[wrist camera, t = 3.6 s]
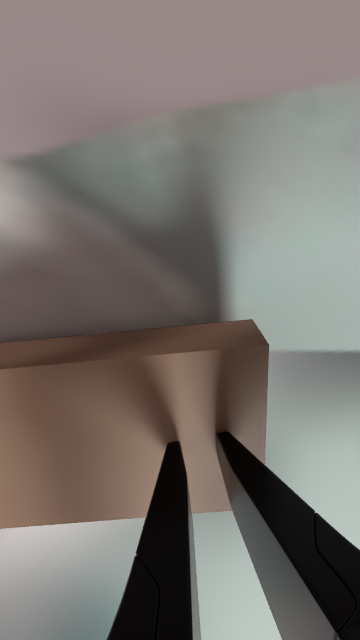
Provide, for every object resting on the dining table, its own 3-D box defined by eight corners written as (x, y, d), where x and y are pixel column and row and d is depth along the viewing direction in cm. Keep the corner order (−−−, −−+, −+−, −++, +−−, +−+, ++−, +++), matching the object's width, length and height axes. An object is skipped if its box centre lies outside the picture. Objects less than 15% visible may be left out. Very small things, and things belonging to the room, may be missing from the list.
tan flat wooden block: (252, 319, 9) (268, 344, 8) (251, 466, 12) (263, 508, 10) (-95, 351, 10) (-150, 383, 8) (-19, 488, 12) (-48, 532, 11)
